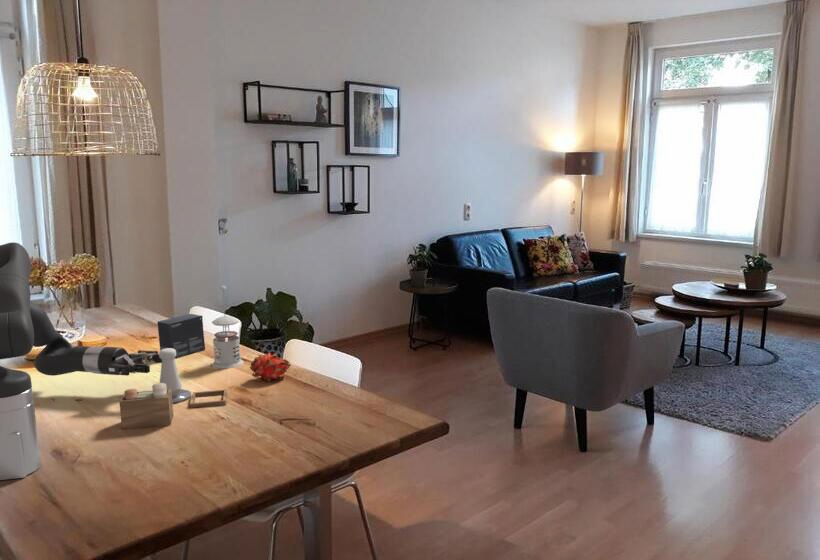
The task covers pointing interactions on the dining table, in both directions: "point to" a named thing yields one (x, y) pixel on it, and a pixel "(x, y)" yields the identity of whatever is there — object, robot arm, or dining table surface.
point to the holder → (211, 403)
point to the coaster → (182, 396)
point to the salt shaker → (170, 371)
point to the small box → (182, 334)
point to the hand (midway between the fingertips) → (158, 363)
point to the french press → (226, 349)
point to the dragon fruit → (269, 366)
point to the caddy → (146, 407)
